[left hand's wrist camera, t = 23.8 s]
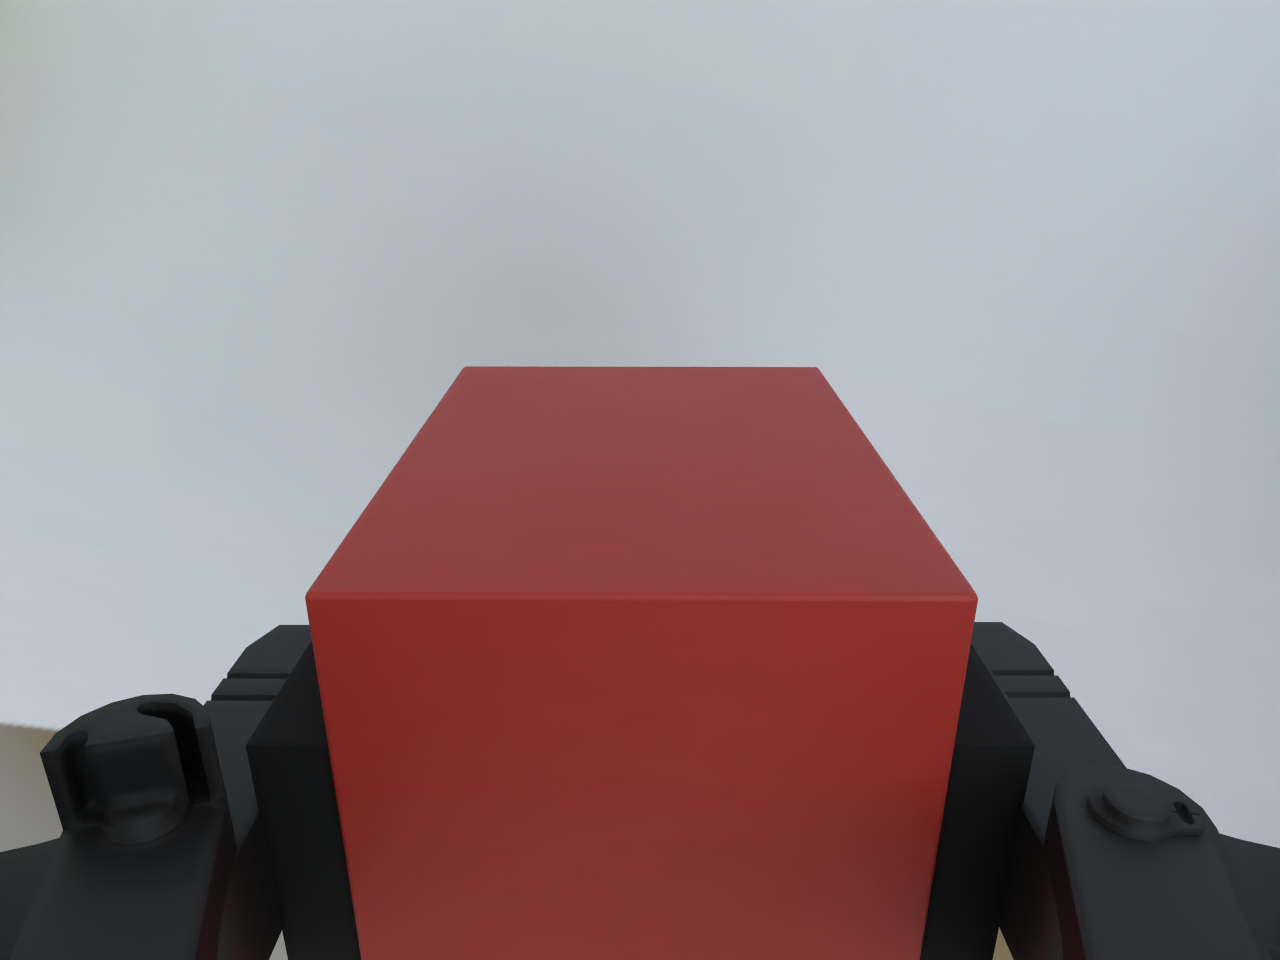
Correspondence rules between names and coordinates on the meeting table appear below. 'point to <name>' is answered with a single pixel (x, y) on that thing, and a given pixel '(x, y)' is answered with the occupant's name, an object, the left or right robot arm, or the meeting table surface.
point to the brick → (641, 676)
